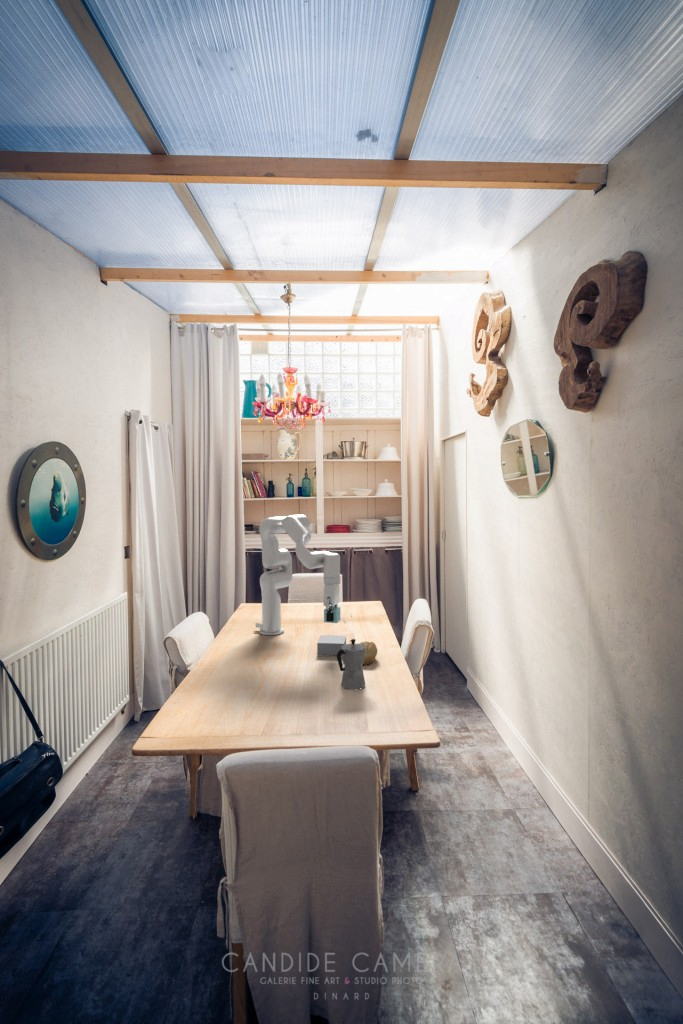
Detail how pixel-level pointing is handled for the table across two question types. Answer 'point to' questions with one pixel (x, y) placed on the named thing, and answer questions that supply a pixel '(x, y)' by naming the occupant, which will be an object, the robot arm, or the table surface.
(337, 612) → the teal cube
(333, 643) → the gray block
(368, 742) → the table surface
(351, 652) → the coffeepot
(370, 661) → the bread roll
